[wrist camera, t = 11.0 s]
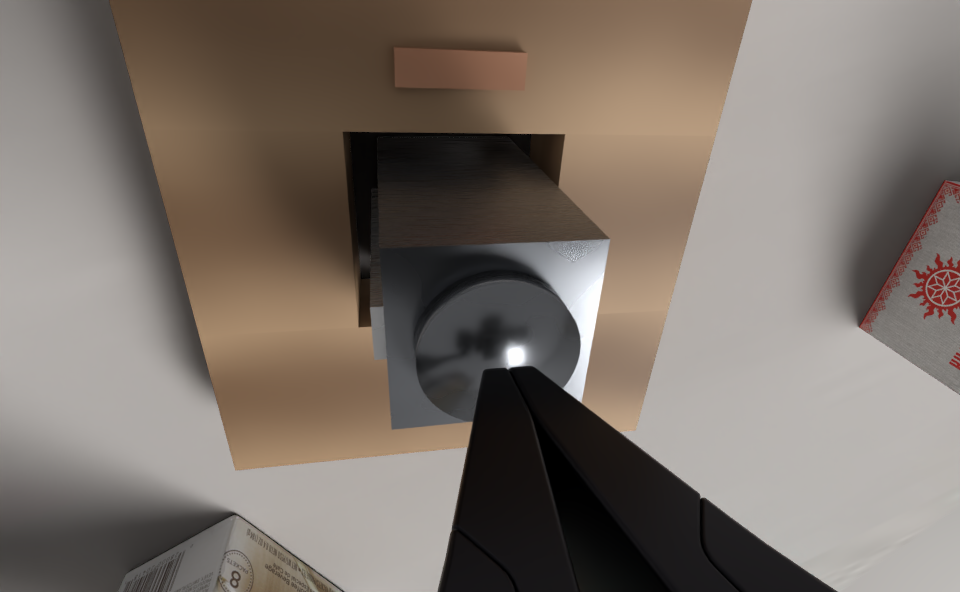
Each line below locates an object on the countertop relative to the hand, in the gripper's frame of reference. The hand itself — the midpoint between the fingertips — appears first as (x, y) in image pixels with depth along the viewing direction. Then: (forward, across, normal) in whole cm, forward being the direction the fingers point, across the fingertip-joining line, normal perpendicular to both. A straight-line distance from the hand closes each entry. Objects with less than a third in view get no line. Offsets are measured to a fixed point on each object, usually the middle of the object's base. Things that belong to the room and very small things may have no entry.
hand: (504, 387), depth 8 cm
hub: (+9, 0, 0) cm, 9 cm away
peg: (+9, 0, 0) cm, 9 cm away
